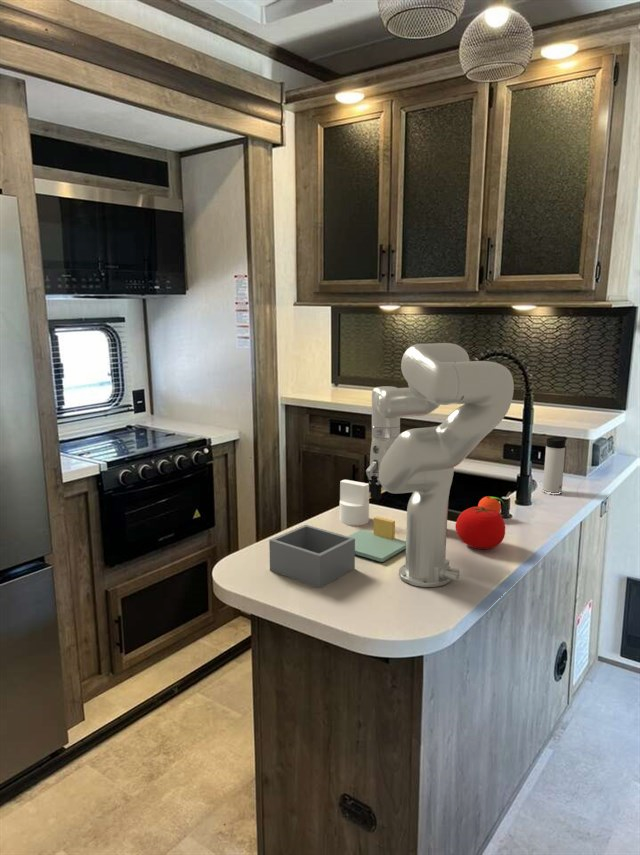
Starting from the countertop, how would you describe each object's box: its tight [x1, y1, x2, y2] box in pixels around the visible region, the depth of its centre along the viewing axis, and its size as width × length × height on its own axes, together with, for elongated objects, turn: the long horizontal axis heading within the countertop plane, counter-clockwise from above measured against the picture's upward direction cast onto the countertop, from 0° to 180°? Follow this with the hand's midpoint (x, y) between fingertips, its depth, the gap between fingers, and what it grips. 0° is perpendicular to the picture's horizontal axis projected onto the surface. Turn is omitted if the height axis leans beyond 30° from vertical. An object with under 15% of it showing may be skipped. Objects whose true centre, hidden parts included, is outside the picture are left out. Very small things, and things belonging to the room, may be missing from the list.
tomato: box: [455, 506, 506, 550], centre depth 169 cm, size 12×13×11 cm
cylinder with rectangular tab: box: [339, 479, 370, 526], centre depth 189 cm, size 9×9×12 cm
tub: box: [268, 524, 356, 589], centre depth 154 cm, size 16×14×8 cm
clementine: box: [477, 495, 505, 514], centre depth 192 cm, size 8×7×7 cm
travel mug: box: [542, 436, 568, 493], centre depth 216 cm, size 6×7×20 cm
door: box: [347, 516, 406, 563], centre depth 168 cm, size 16×14×7 cm
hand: (385, 494), depth 169 cm, fingers open, 9 cm apart
